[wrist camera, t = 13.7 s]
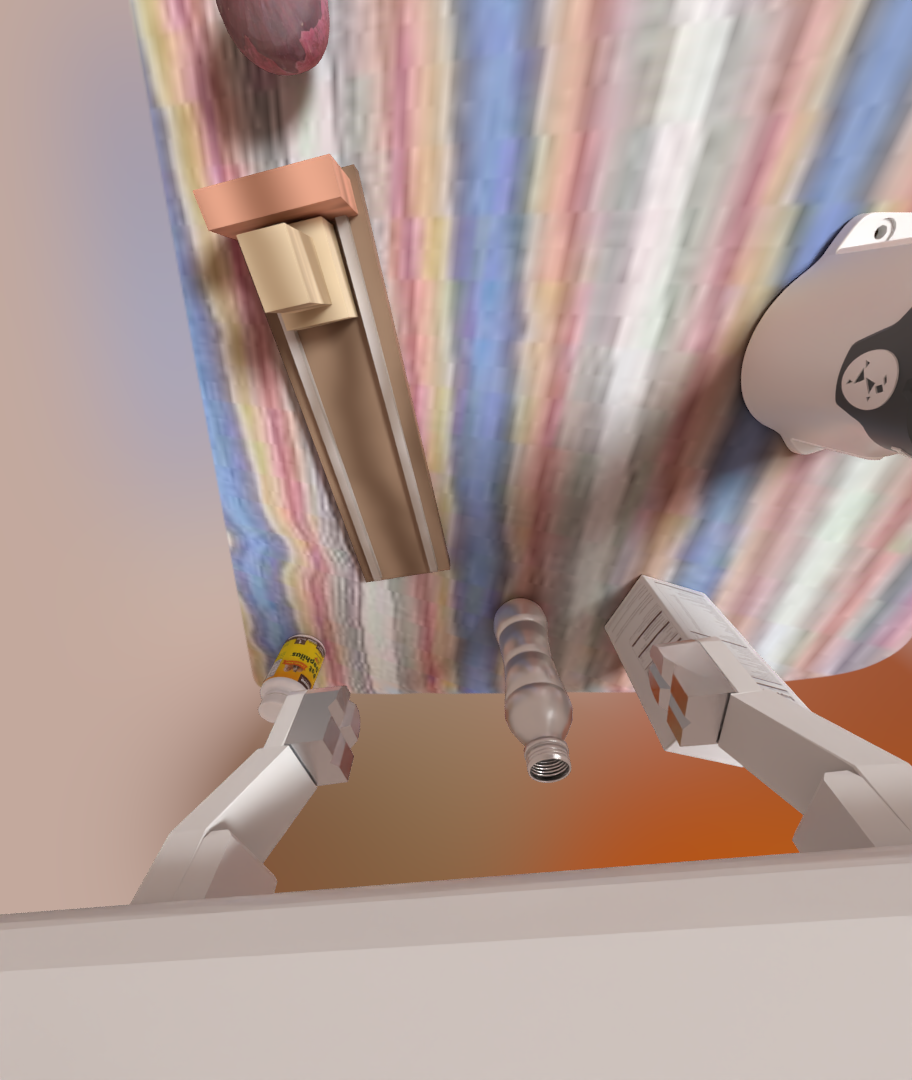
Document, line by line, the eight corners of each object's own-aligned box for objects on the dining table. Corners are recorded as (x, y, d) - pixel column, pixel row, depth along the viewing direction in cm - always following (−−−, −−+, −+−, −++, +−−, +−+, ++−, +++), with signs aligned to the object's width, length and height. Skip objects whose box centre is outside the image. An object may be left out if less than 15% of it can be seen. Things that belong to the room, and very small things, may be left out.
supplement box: (601, 627, 51) (659, 752, 36) (640, 572, 46) (723, 689, 32) (664, 644, 52) (744, 771, 38) (707, 593, 48) (816, 714, 33)
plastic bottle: (483, 623, 50) (497, 784, 33) (505, 584, 47) (532, 739, 30) (528, 636, 52) (564, 798, 34) (552, 599, 48) (605, 756, 31)
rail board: (358, 171, 28) (333, 135, 23) (450, 562, 46) (449, 596, 40) (232, 204, 29) (179, 177, 24) (368, 574, 47) (356, 610, 41)
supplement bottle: (335, 648, 53) (310, 715, 44) (309, 667, 55) (280, 734, 46) (302, 625, 51) (269, 690, 42) (276, 645, 53) (240, 712, 44)
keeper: (333, 225, 29) (293, 196, 22) (358, 316, 32) (330, 317, 25) (270, 241, 29) (211, 217, 22) (300, 329, 32) (257, 333, 25)
